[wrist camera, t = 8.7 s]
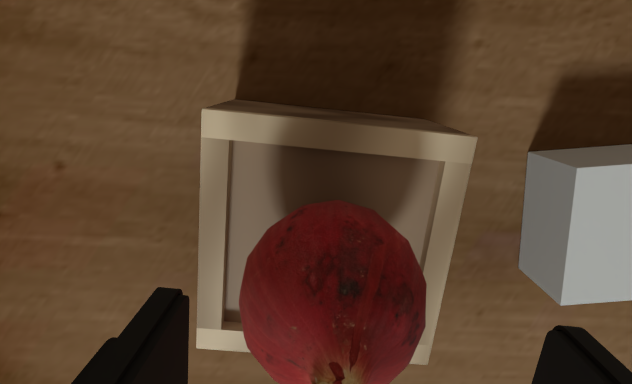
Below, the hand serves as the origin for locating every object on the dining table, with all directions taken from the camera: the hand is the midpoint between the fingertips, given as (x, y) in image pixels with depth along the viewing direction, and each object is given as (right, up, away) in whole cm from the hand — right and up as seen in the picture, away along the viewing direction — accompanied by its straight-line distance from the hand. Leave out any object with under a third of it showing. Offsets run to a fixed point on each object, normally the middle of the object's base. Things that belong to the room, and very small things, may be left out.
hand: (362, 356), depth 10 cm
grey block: (+14, +3, +12) cm, 19 cm away
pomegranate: (-1, +2, +6) cm, 6 cm away
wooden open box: (-1, +4, +12) cm, 12 cm away
